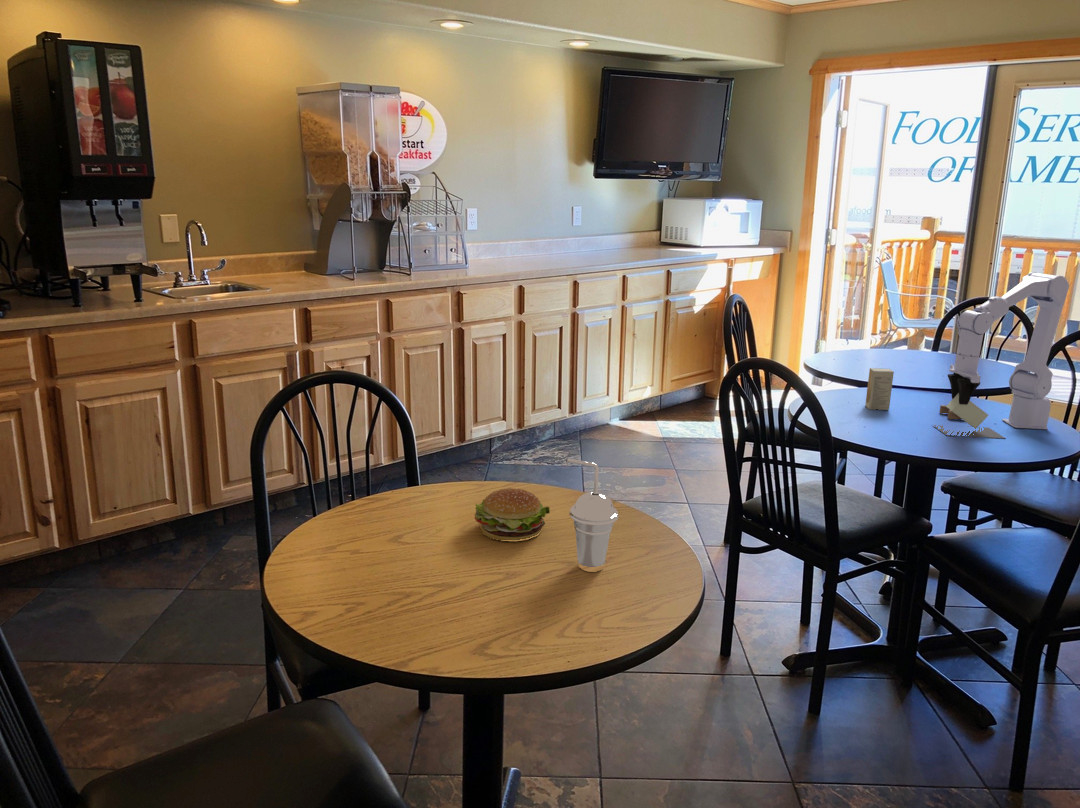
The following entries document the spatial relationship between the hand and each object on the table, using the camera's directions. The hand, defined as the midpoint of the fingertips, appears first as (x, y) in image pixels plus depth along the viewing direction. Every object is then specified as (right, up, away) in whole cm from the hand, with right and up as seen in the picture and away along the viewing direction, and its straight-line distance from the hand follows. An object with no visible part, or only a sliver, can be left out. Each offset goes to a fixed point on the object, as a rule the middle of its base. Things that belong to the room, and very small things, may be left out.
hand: (959, 401), depth 235 cm
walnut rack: (+7, -4, +17) cm, 19 cm away
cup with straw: (-109, -29, -88) cm, 143 cm away
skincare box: (-14, -2, +23) cm, 27 cm away
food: (-123, -25, -75) cm, 146 cm away
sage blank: (+1, -4, +1) cm, 5 cm away
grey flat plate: (+3, -8, +1) cm, 9 cm away
